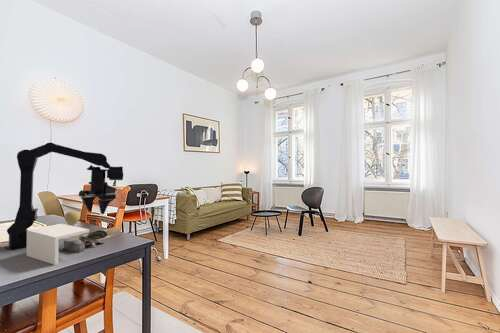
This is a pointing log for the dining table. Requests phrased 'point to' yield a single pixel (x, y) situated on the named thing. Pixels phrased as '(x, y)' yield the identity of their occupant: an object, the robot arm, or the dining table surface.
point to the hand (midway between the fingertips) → (96, 212)
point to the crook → (79, 246)
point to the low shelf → (49, 241)
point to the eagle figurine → (93, 237)
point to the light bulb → (72, 218)
